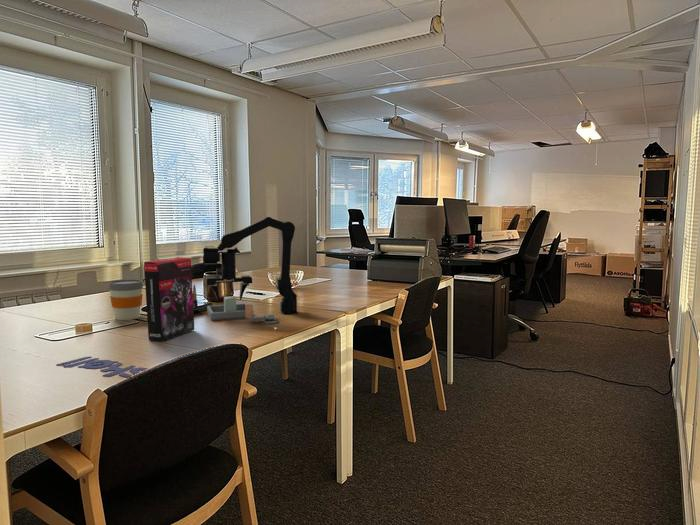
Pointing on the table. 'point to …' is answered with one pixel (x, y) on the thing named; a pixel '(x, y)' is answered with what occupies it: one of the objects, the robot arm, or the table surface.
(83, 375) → the table surface
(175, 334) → the graphics card box
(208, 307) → the tray
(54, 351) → the table surface
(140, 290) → the reusable coffee cup
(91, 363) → the signage
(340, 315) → the table surface
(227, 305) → the block
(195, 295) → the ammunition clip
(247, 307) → the crank
